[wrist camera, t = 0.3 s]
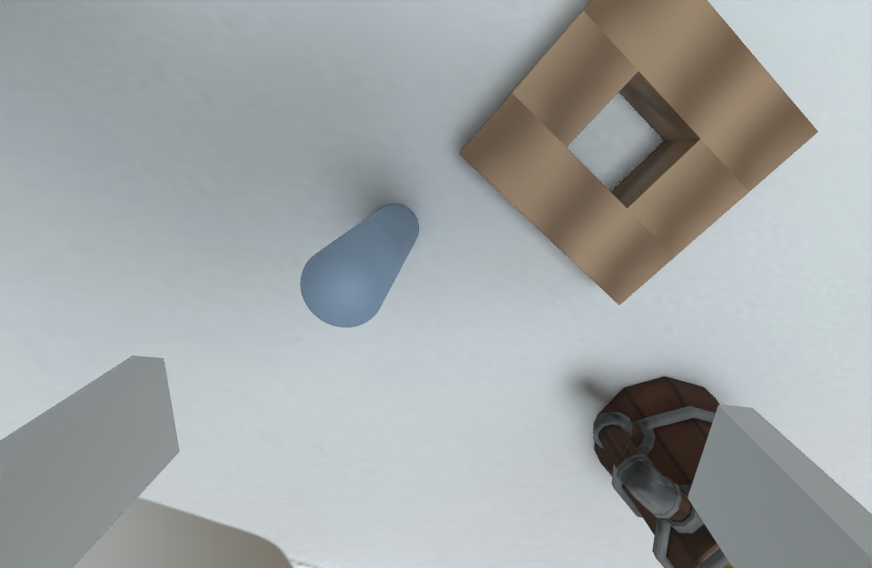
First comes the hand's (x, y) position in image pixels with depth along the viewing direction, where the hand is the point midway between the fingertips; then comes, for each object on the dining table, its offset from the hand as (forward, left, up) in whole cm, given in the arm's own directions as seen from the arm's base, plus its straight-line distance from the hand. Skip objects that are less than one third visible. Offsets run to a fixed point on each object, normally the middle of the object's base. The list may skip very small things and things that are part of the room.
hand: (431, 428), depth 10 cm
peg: (-4, -3, -26) cm, 26 cm away
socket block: (+4, +13, -26) cm, 29 cm away
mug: (+25, -2, -26) cm, 36 cm away
